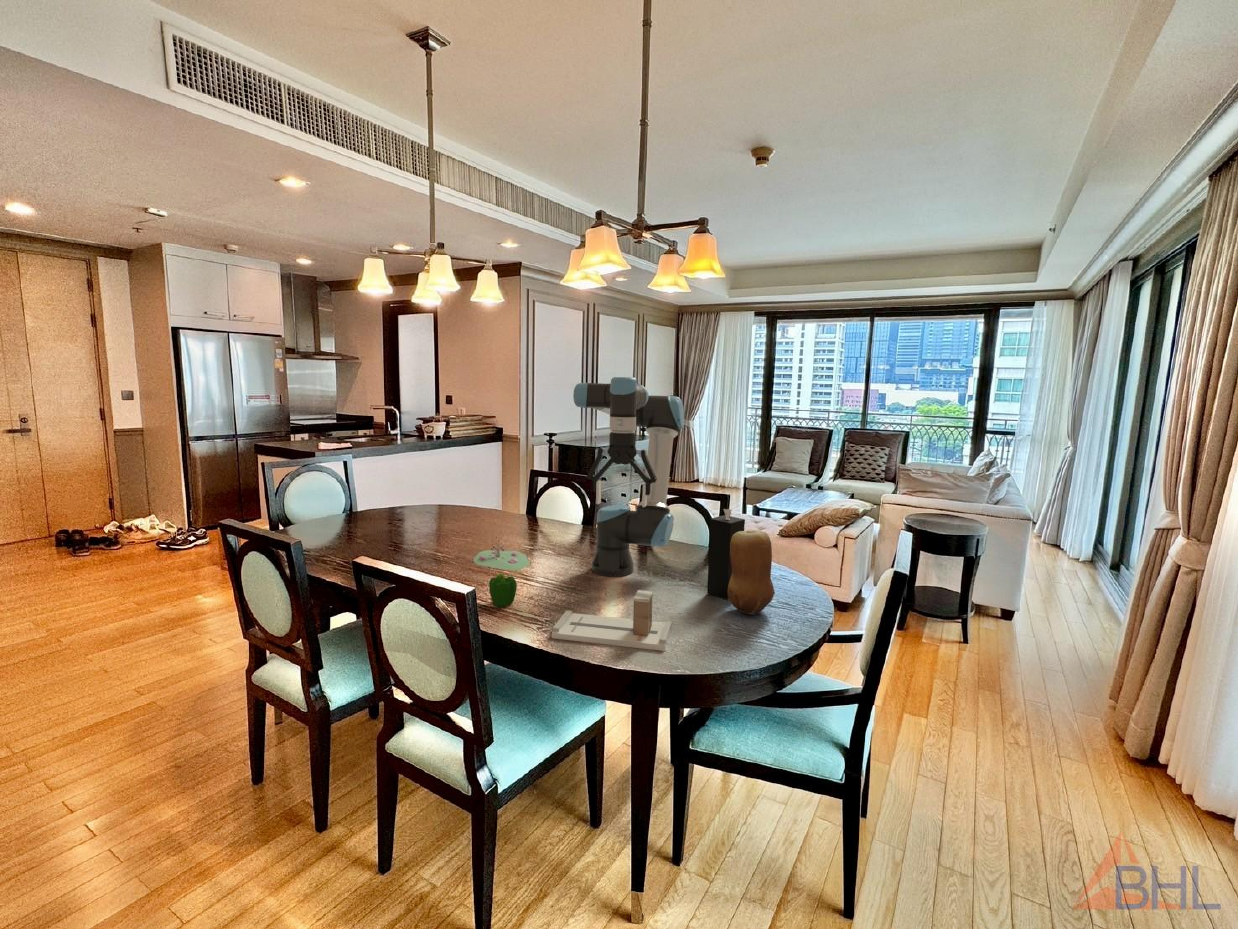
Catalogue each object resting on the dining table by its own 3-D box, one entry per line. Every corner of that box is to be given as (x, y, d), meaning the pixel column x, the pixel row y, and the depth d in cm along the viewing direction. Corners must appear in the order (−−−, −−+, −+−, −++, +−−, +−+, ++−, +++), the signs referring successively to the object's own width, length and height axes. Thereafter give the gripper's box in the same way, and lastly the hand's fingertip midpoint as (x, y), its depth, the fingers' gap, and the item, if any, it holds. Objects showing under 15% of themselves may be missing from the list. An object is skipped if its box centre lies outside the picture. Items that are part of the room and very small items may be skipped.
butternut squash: (732, 601, 185) (735, 523, 181) (776, 608, 180) (780, 528, 176) (721, 617, 172) (725, 533, 168) (769, 625, 167) (774, 539, 163)
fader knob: (637, 624, 161) (637, 590, 160) (651, 626, 161) (652, 591, 159) (632, 633, 156) (633, 598, 154) (648, 635, 155) (649, 599, 153)
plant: (548, 563, 221) (548, 539, 220) (503, 576, 206) (503, 551, 204) (505, 549, 237) (505, 527, 236) (461, 561, 222) (461, 537, 220)
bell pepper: (504, 596, 185) (504, 565, 184) (522, 603, 180) (521, 571, 178) (482, 604, 179) (482, 572, 177) (500, 611, 173) (499, 578, 172)
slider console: (567, 617, 170) (567, 609, 169) (671, 628, 164) (672, 620, 163) (551, 638, 156) (551, 629, 156) (664, 651, 150) (665, 641, 150)
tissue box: (721, 588, 196) (725, 505, 192) (741, 594, 191) (745, 509, 187) (706, 593, 191) (710, 508, 187) (727, 600, 185) (731, 512, 181)
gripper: (576, 431, 168) (576, 504, 171) (664, 434, 163) (662, 510, 166) (583, 429, 175) (583, 499, 178) (667, 432, 170) (665, 504, 173)
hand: (621, 504), depth 172 cm, fingers open, 13 cm apart
